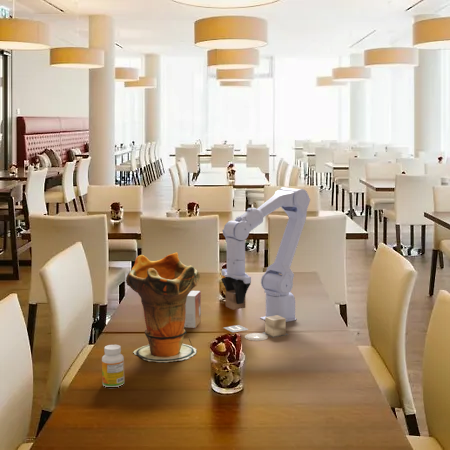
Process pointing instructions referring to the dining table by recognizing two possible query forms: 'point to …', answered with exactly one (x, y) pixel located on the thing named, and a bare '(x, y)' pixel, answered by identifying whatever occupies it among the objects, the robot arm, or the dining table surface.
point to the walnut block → (233, 300)
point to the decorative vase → (163, 305)
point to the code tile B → (274, 336)
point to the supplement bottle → (112, 366)
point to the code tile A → (236, 328)
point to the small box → (193, 309)
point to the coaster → (256, 336)
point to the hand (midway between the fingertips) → (235, 301)
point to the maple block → (275, 325)
